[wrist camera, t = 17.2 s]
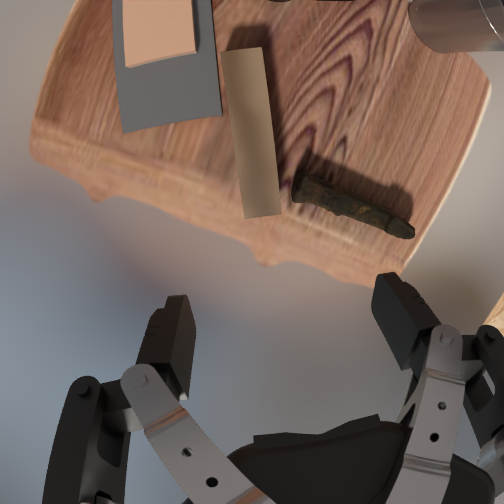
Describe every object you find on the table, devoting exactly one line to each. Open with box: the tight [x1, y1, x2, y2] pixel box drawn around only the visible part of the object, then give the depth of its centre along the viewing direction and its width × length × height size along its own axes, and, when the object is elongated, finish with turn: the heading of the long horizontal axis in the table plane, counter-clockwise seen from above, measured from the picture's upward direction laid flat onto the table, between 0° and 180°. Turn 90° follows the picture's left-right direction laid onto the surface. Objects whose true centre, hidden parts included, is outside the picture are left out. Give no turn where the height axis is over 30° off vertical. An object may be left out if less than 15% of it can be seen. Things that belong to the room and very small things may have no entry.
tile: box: [123, 0, 197, 68], centre depth 22 cm, size 8×2×10 cm
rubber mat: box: [112, 0, 222, 134], centre depth 23 cm, size 12×22×1 cm, turn 5°
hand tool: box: [291, 167, 415, 239], centre depth 33 cm, size 19×4×5 cm, turn 69°
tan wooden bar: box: [220, 47, 281, 219], centre depth 28 cm, size 4×18×5 cm, turn 7°
